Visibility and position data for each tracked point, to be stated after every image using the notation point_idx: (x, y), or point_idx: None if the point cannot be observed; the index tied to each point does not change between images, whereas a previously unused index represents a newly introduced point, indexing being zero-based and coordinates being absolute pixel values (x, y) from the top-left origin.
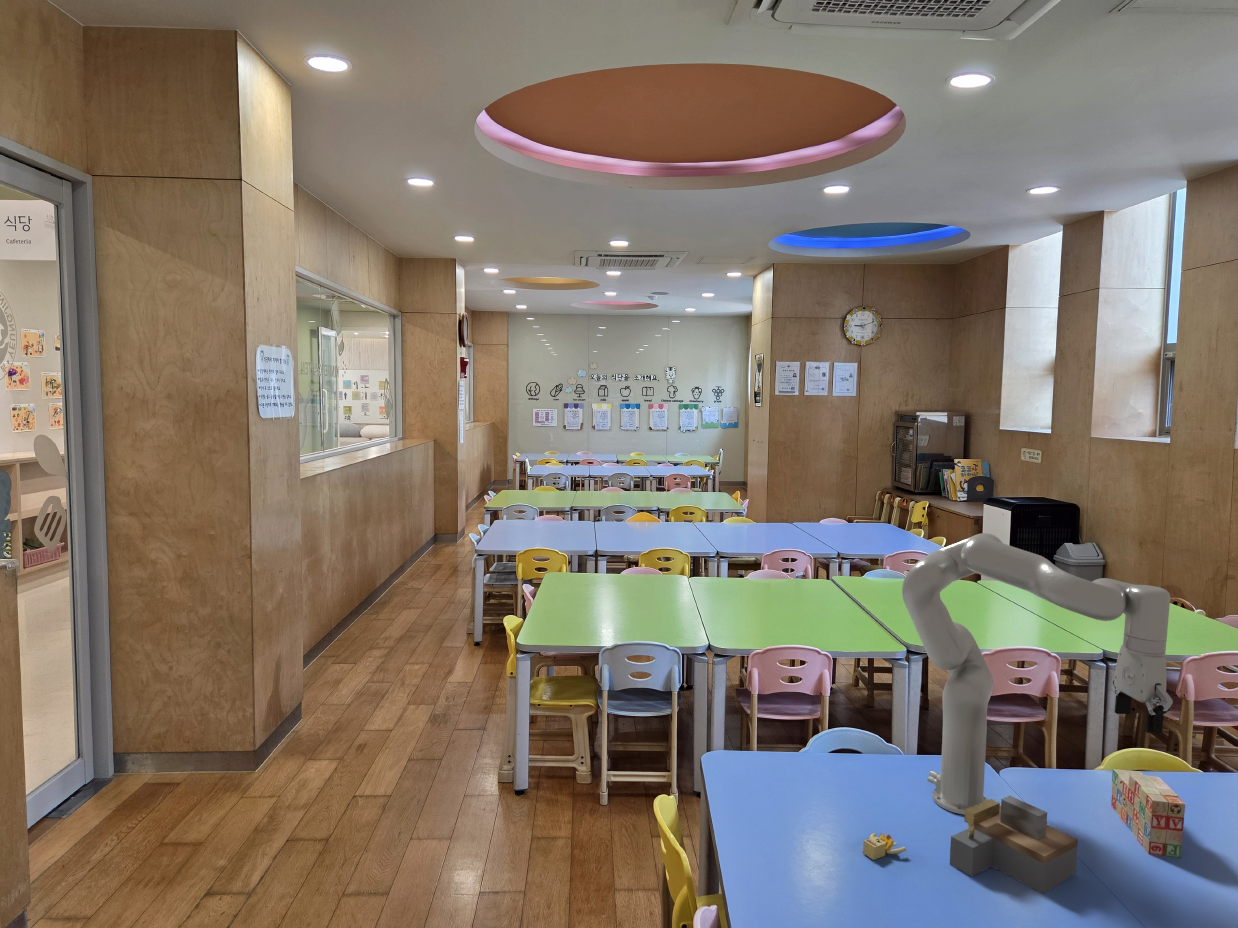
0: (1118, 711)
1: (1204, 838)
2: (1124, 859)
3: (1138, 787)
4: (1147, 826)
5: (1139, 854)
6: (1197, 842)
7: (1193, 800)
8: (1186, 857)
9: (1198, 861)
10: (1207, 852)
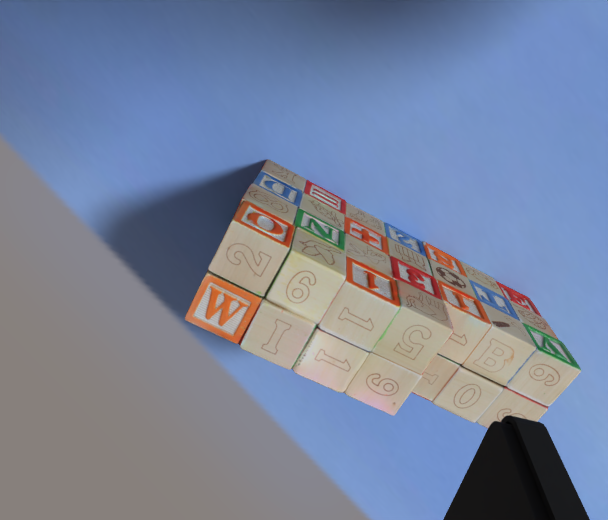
0: (496, 446)
1: (300, 380)
2: (255, 47)
3: (369, 284)
4: (280, 195)
5: (270, 127)
6: None
7: None
8: None
9: (207, 265)
10: None
